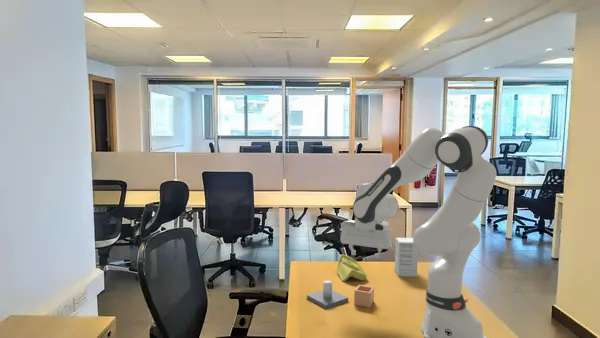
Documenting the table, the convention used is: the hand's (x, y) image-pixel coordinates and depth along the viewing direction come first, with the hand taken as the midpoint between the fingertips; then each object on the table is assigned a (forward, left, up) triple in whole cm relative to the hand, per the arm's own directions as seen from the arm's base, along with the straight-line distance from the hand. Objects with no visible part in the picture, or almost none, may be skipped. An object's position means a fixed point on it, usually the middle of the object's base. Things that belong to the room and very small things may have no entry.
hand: (365, 256), depth 168 cm
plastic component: (+27, -19, -20) cm, 38 cm away
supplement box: (+13, -42, -20) cm, 48 cm away
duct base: (+11, +10, -19) cm, 24 cm away
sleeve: (0, 0, -19) cm, 19 cm away
